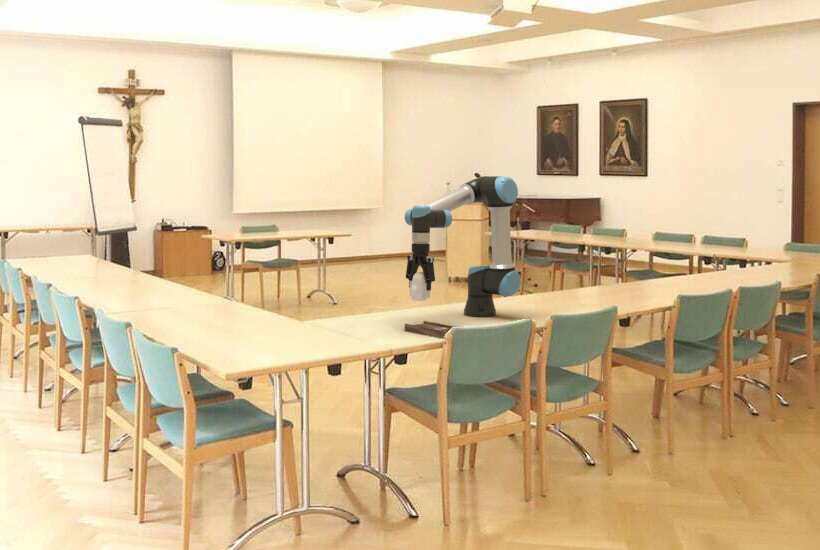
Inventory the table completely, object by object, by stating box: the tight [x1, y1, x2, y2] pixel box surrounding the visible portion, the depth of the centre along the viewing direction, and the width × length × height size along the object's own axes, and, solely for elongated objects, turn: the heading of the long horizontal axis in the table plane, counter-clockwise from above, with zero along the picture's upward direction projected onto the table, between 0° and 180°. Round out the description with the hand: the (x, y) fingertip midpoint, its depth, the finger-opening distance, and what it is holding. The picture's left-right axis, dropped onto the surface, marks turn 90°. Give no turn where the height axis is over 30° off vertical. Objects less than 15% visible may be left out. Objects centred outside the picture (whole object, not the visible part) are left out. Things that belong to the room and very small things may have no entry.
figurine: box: [410, 271, 428, 302], centre depth 374 cm, size 7×8×12 cm
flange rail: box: [404, 320, 456, 339], centre depth 370 cm, size 12×22×4 cm, turn 43°
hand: (419, 296), depth 374 cm, fingers closed on figurine, 8 cm apart
